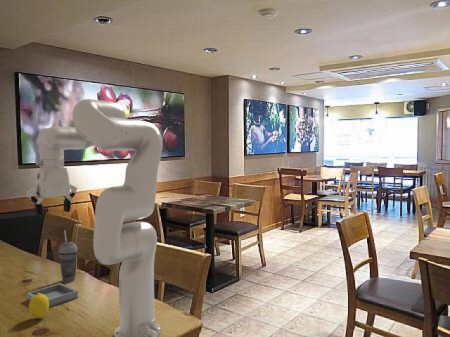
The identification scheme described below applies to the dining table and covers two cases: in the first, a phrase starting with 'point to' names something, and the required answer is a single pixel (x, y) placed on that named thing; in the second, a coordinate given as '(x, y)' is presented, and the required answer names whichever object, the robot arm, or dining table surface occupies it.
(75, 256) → the beverage cup
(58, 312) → the dining table surface
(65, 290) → the tray
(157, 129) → the robot arm
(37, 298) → the lemon
